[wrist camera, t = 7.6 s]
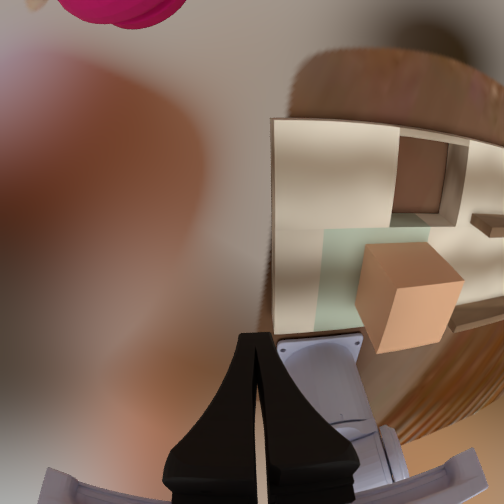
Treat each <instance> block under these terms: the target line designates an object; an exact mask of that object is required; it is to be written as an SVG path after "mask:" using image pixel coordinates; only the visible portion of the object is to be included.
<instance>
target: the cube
mask: <svg viewBox="0 0 504 504" xmlns="http://www.w3.org/2000/svg"><path fill="white" fill-rule="evenodd" d="M464 282H465V280H464V279H463V278H462V277H461V276H460V275H459V274H458V273H457V272H456V271H455V269H454V268H453V267H452V266H451V265H450V264H449V263H448V262H447V261H446V260H445V259H444V258H443V257H442V256H441V255H440V254H439V253H438V252H437V251H436V250H435V249H434V248H433V247H432V246H431V245H430V244H428V243H427V242H407V243H380V244H365V250H364V257H363V263H362V268H361V274H360V279H359V285H358V290H357V295H356V300H355V307H356V309H357V311H358V314H359V316H360V318H361V320H362V322H363V325H364V327H365V329H366V331H367V333H368V336H369V338H370V340H371V343H372V345H373V347H374V349H375V352H376V354H380V353H386V352H392V351H398V350H403V349H408V348H413V347H418V346H423V345H428V344H432V343H436V342H440V339H441V337H442V335H443V333H444V331H445V329H446V326H447V324H448V322H449V320H450V317H451V315H452V313H453V310H454V308H455V305H456V303H457V300H458V298H459V295H460V293H461V290H462V287H463V284H464Z"/></svg>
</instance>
